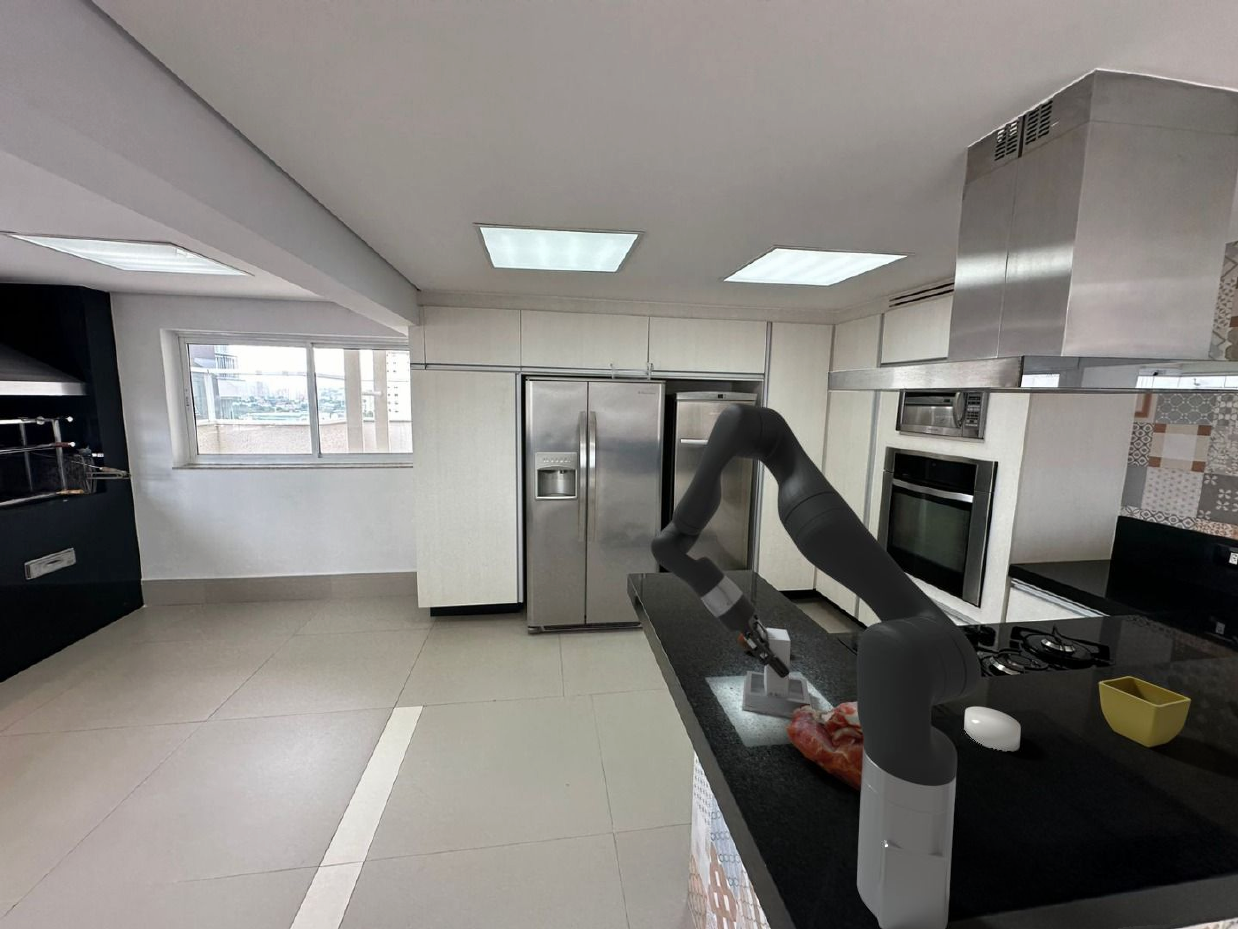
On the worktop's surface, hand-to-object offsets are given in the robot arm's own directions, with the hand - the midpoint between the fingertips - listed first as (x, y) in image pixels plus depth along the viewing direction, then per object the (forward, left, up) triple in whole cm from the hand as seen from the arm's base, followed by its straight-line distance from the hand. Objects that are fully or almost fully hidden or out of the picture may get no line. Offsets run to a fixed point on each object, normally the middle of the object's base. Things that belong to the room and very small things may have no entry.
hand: (785, 667), depth 100 cm
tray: (0, +2, -7) cm, 7 cm away
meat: (-14, -10, -8) cm, 19 cm away
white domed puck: (-1, -35, -8) cm, 36 cm away
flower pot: (+7, -61, -8) cm, 62 cm away
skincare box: (0, +2, -6) cm, 6 cm away
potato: (+22, +5, -8) cm, 24 cm away
